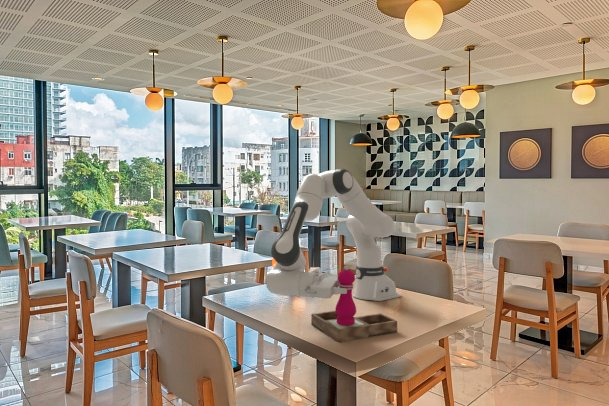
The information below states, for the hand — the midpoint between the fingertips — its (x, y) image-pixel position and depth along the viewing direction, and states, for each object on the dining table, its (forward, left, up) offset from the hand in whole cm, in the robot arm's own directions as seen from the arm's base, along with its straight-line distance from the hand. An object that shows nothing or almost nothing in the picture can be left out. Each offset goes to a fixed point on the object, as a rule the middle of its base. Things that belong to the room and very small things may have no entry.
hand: (349, 287), depth 152 cm
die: (-25, -76, -17) cm, 81 cm away
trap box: (-5, -6, -17) cm, 18 cm away
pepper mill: (+1, -1, -13) cm, 13 cm away
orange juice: (-5, -71, -17) cm, 73 cm away
